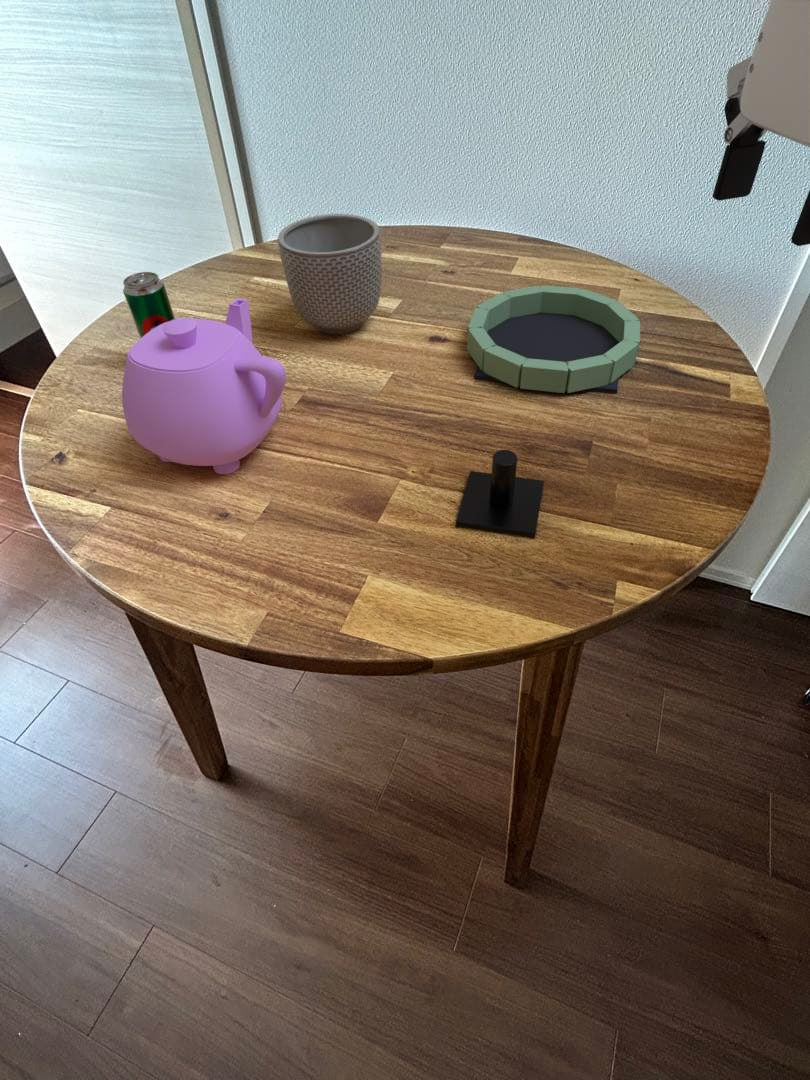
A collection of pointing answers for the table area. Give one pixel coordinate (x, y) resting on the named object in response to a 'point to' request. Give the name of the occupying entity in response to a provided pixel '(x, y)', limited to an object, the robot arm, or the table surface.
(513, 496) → the post
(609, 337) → the mat
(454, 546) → the table surface
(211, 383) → the teapot
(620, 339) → the hoop
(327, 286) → the planter
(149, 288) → the soda can
